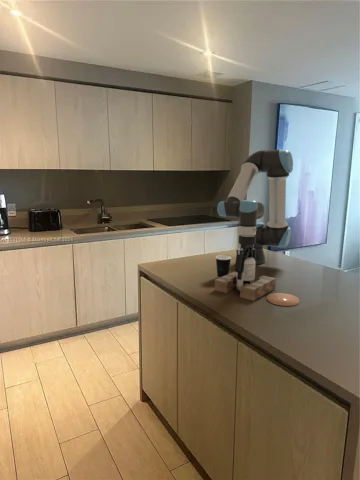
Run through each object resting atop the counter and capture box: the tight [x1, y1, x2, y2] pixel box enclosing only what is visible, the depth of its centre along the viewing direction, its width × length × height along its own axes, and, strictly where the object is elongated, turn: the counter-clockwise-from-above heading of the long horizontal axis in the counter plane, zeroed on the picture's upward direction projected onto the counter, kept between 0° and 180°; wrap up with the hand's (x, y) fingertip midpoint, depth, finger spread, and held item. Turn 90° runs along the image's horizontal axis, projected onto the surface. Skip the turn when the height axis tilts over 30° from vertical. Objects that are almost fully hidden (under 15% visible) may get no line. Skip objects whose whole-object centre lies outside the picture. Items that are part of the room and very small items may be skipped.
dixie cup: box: [214, 254, 232, 279], centre depth 174 cm, size 8×8×11 cm
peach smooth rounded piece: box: [266, 292, 300, 307], centre depth 146 cm, size 13×13×1 cm
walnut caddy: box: [214, 271, 276, 302], centre depth 159 cm, size 20×20×5 cm
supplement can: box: [235, 257, 256, 292], centre depth 158 cm, size 8×8×15 cm
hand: (245, 283), depth 159 cm, fingers closed on supplement can, 8 cm apart
